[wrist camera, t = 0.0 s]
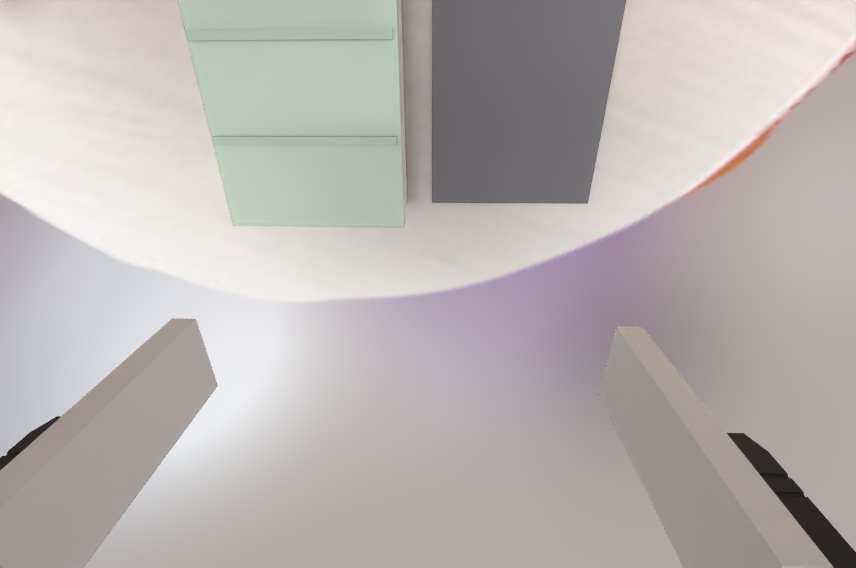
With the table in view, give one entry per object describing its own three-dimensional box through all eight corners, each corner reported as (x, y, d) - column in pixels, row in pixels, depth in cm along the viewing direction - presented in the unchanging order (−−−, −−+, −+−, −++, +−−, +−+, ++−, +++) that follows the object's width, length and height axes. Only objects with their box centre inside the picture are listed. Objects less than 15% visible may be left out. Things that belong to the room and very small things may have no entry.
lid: (161, -93, 24) (11, -184, 16) (394, -98, 24) (367, -194, 16) (237, 222, 34) (168, 270, 26) (404, 224, 34) (391, 273, 25)
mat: (432, -61, 29) (432, -63, 29) (636, -65, 29) (638, -66, 29) (432, 201, 39) (432, 202, 38) (586, 202, 38) (587, 203, 38)
